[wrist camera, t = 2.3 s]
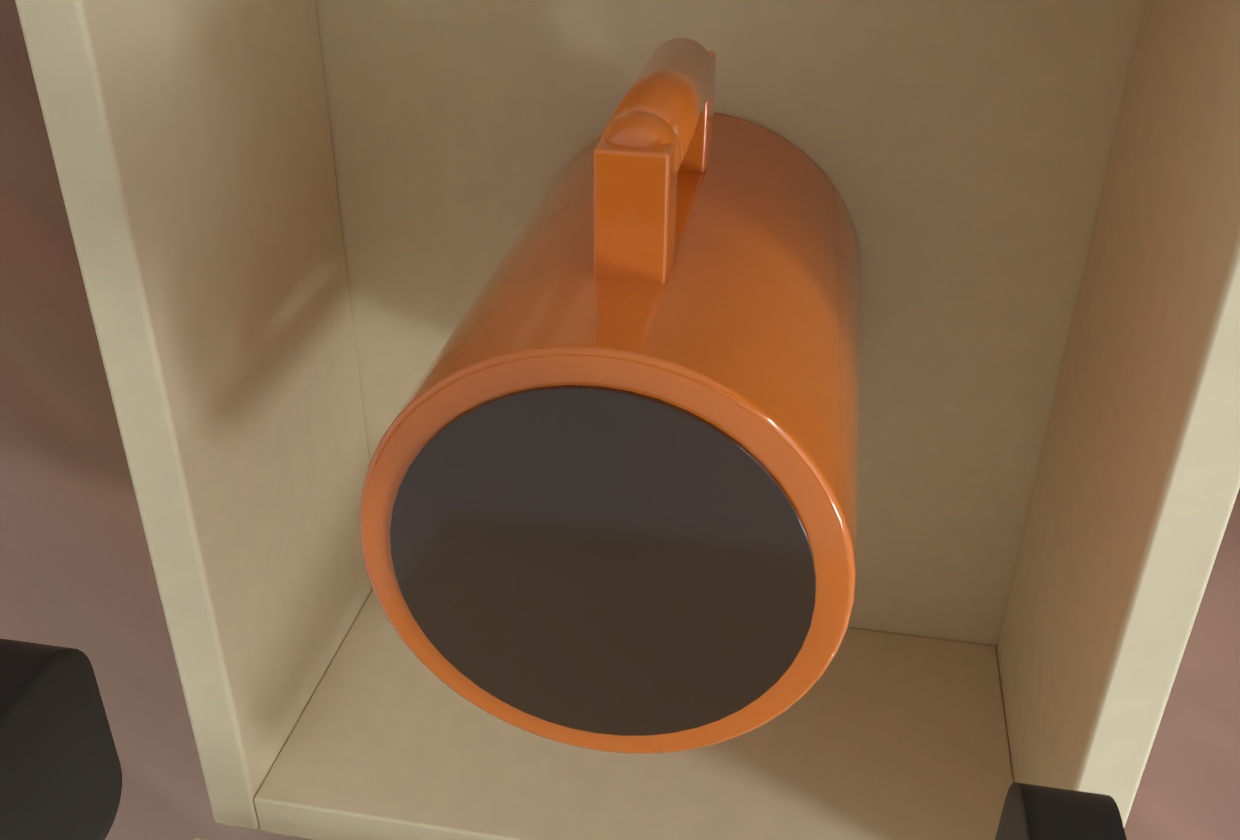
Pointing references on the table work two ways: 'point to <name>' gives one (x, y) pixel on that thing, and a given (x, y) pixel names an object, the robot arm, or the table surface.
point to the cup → (639, 441)
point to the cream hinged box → (888, 398)
